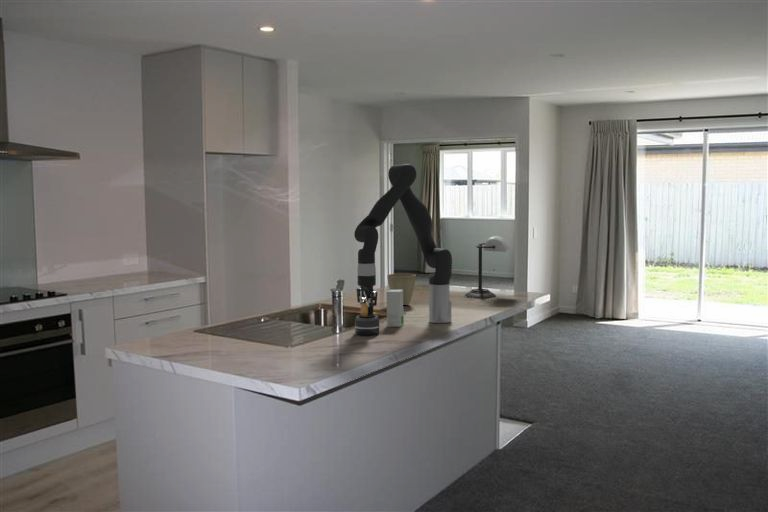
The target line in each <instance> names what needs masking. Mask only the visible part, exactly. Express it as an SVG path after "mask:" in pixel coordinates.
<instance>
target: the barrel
mask: <svg viewBox="0 0 768 512" xmlns="http://www.w3.org/2000/svg"><path fill="white" fill-rule="evenodd" d="M354 329H355V330H354V334H355V335H356V334H357V335H356V336H358V335H361V336H360V337H375V336H379V335H380V318H379V315H376V314H373V316H372V317H362V316H361V314H358V315H356V317H355V319H354ZM374 335H375V336H374Z"/></svg>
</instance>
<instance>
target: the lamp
mask: <svg viewBox="0 0 768 512" xmlns="http://www.w3.org/2000/svg"><path fill="white" fill-rule="evenodd" d="M475 247H476V249H478V288H473V289H470V290H469V291H468V292H466V293H465V294H464V295H465V296H468V297H467V298H469V297H473V298H472V299H492V298H491V297H493V298H496V297H497V295H496V294H495V293H493V292H492V291H490V290H489V289H488V288H483V251H484V252H487V251H488V252H497V253H499V252H500V253H506V252H508V251H509V250H510V248H509V247H510V246H509V244H508V243H507V240H506V239H505V238H504V237H501V236H500V235H493V236H490V237H489V238H487V239H486V240H485V241H484V242H482V243H478V245H476V246H475ZM492 271H493V272H496V269H495V268H493V269H492ZM465 296H464V297H465Z"/></svg>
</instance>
